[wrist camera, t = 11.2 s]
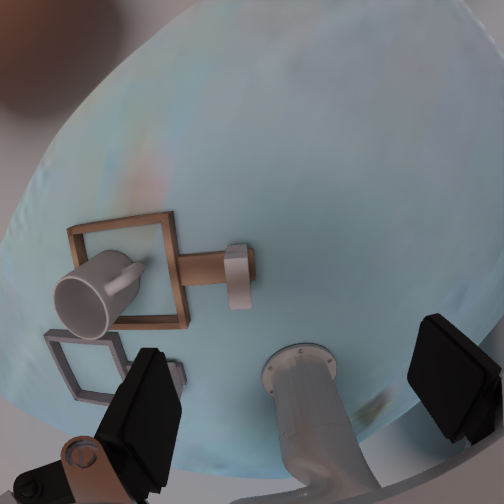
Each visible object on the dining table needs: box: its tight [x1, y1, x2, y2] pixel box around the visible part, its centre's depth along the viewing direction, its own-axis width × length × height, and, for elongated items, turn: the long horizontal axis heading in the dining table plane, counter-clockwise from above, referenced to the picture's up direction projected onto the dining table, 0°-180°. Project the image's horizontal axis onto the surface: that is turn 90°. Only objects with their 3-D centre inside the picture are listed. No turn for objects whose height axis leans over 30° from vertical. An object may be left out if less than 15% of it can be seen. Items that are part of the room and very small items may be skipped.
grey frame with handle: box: [43, 329, 187, 406], centre depth 38 cm, size 16×26×7 cm, turn 95°
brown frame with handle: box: [67, 211, 256, 330], centre depth 34 cm, size 16×26×7 cm, turn 95°
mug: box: [53, 250, 144, 340], centre depth 32 cm, size 12×8×11 cm
